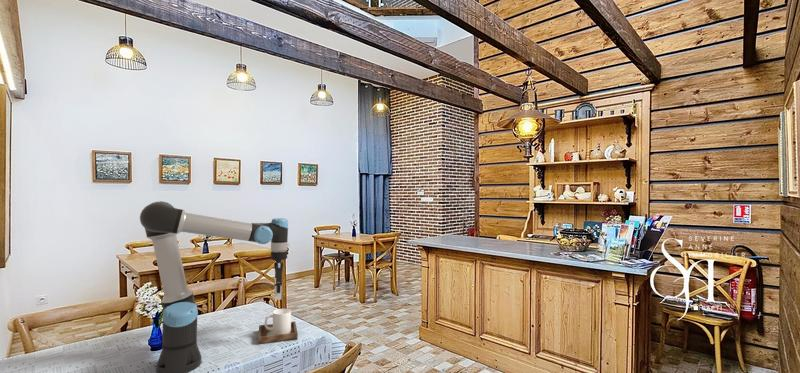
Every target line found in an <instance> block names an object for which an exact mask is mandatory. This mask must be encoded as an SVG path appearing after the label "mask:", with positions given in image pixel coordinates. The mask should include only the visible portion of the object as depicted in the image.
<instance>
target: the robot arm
mask: <svg viewBox="0 0 800 373" xmlns="http://www.w3.org/2000/svg"><path fill="white" fill-rule="evenodd" d="M139 222H140V224H141V226H142V227H143V228H144V230H145V231H144V232H145V234H146V238H147V239H148V240H151V241H152V247H153V250H154V254H155V259H156V263H157V268H158V273H159V277H160V281H161V285H162V290H163V291H162V292H163V294H164V296H163V298H162V299H161V301H160V302H161V306H162V307H161V308H162V311H163V312H162V315H161V316H162V317H161V318H162V319H161V321H162V338H161V340H162V345H161V346H162V347H161V348H162V349H161V352H160V355H159V357H158V359H157V362H156V369H155V371H156V373H188V372H191V371H193V370H195V369H197V368H198V367H200V366H201V364H202V354H201V351H200V348H199V346H198V316H199V311H198V306H197V303H196V301H195V296H194V293H193V291H192V290H190V289H188V283H187V279H186V274H185V269H184V266H183V265H184V264H183V261H182V257H181V252H180V245H179V242H178V237H177V235H178V234H180V233H188V234H194V235H195V234H196V235H201V236H210V237H211V236H212V237H217V238H223V239H224V238H225V239H231V240H238V241H239V240H240V241H245V242H246V241H247V242H251V243H252V242H253V243H257V244H260V245H266V244H268V243H270V251H271V252H270V259H271V260H272V261H275V262H273V263H274V285H273V286H274V293H275V294H274V300H275V301H279V300H281V301H282V293H283V292H282V288H283V287H282V285H283V271H284V270H283V269H284V262H283V261H284V260H287V259H288V246H290V244H289V243H288V240H289V238H288V236H289V235H288V234H289V222H288V219H287V218H282V217H280V218H279V217H278V218H276V217H275V218H272V219H271V221H270V222H251V223H250V222H243V221H239V220H238V221H237V220H232V219H225V218H218V217H213V216H207V215H202V214H195V213H189V212H186V210H184V209H180V208H176V207H174V206H173V205H172V204H171V203H170V202H166V201H162V200H161V201H160V200H159V201H155V202H151V203H149V204H148V205H146V206H145V207H144V208H143V209H142V210H141V212H140V215H139Z"/></svg>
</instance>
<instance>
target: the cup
mask: <svg viewBox="0 0 800 373" xmlns="http://www.w3.org/2000/svg"><path fill="white" fill-rule="evenodd" d="M269 318H272V324H273V327H271V328H270V327H268V326H267V324H268V319H269ZM291 322H292V310H291V308H290V309H289V308H279V309H275V310H273V312H272V314H269V315H267V316H265V319H264V325H265V328H266V329H267V330H273V334H274V335H279V334H288V333H290V331H291Z"/></svg>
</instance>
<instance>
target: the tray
mask: <svg viewBox="0 0 800 373" xmlns="http://www.w3.org/2000/svg"><path fill="white" fill-rule="evenodd" d="M267 326H268V327H270V328H271V327H273V323H267ZM298 335H299V334H298V329H297V324H296V321H291V331H290V333H288V334H279V335H274V334H273V330H267V329H266V328H265V324H259V325H258V336H257V337H258V339H257V340H258V342H257V343H258V345H265V344H272V343H273V344H274V343H281V341H283V342H291V341H296V340H299V338H298ZM290 340H291V341H290Z"/></svg>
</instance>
